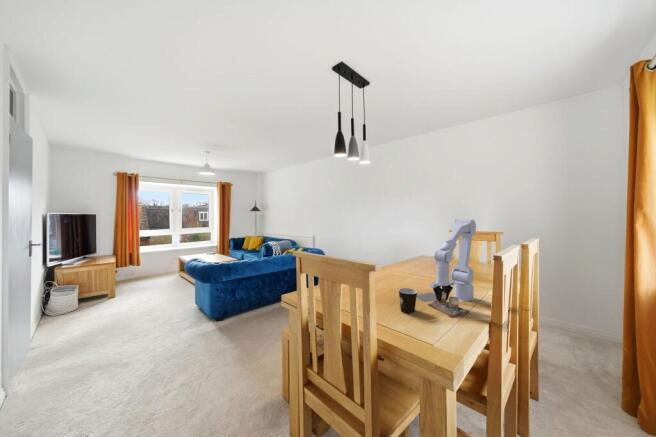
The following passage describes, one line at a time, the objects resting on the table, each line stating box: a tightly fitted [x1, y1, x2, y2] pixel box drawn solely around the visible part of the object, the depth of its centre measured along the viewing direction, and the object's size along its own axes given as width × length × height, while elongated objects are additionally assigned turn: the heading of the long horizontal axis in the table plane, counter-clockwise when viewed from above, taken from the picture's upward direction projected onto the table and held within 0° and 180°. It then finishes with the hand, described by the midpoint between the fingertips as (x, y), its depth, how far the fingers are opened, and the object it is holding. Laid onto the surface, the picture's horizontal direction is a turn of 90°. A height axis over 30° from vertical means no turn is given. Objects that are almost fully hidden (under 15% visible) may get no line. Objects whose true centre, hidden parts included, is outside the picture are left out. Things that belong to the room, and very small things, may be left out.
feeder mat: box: [416, 292, 437, 303], centre depth 137 cm, size 14×10×1 cm
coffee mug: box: [398, 287, 418, 315], centre depth 120 cm, size 12×9×10 cm
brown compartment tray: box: [427, 300, 470, 318], centre depth 121 cm, size 12×14×2 cm
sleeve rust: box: [437, 292, 447, 305], centre depth 124 cm, size 4×4×6 cm
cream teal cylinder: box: [448, 295, 459, 311], centre depth 117 cm, size 4×4×6 cm
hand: (442, 300), depth 124 cm, fingers closed on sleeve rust, 4 cm apart
